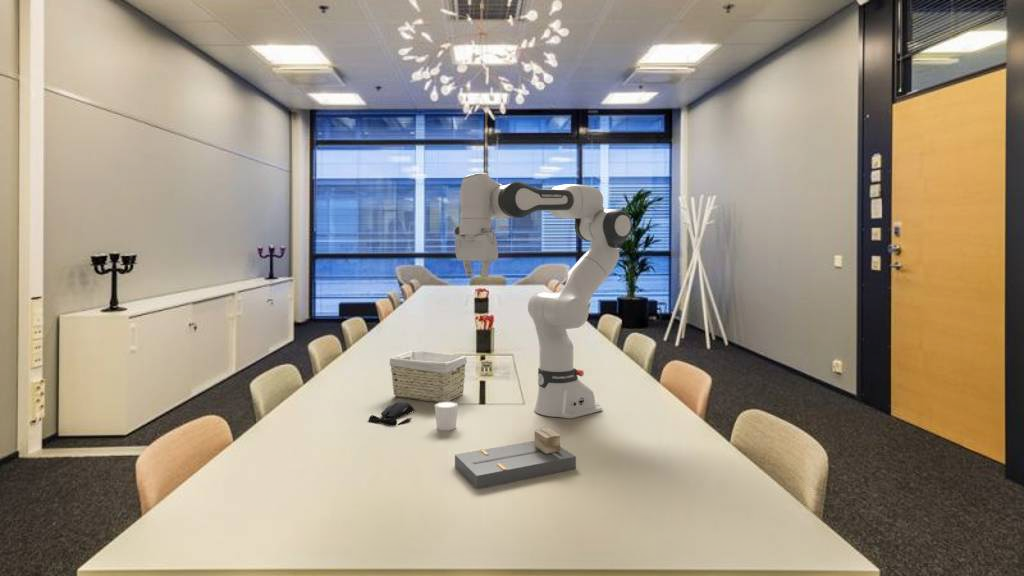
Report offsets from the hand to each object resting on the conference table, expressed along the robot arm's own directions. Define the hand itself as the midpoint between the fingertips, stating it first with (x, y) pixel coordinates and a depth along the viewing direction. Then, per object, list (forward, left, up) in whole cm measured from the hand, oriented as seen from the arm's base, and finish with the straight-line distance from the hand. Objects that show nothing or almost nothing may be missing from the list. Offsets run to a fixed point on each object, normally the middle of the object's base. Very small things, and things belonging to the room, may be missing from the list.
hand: (476, 276), depth 162 cm
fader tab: (-5, +33, -42) cm, 53 cm away
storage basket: (+3, -39, -46) cm, 60 cm away
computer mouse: (+19, -19, -46) cm, 53 cm away
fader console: (+4, +33, -45) cm, 56 cm away
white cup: (+9, -3, -45) cm, 46 cm away
